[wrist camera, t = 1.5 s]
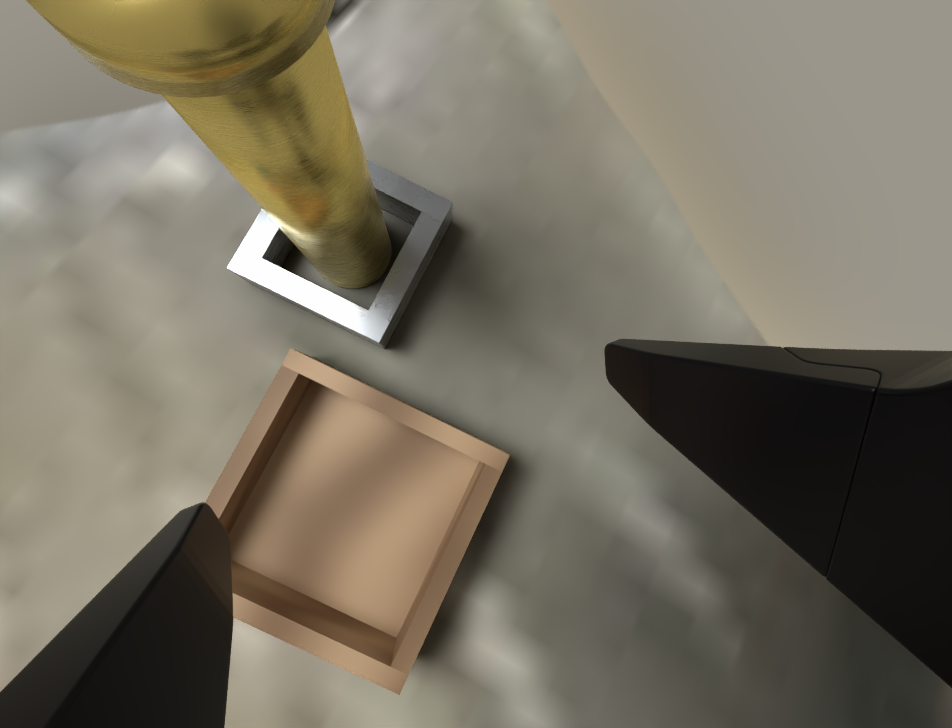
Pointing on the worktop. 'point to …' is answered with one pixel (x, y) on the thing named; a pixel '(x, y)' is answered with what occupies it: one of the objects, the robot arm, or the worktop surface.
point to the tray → (349, 518)
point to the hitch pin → (252, 109)
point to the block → (431, 221)
